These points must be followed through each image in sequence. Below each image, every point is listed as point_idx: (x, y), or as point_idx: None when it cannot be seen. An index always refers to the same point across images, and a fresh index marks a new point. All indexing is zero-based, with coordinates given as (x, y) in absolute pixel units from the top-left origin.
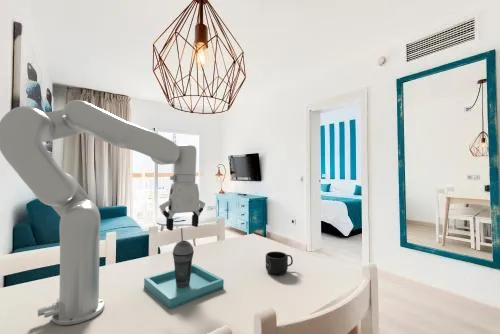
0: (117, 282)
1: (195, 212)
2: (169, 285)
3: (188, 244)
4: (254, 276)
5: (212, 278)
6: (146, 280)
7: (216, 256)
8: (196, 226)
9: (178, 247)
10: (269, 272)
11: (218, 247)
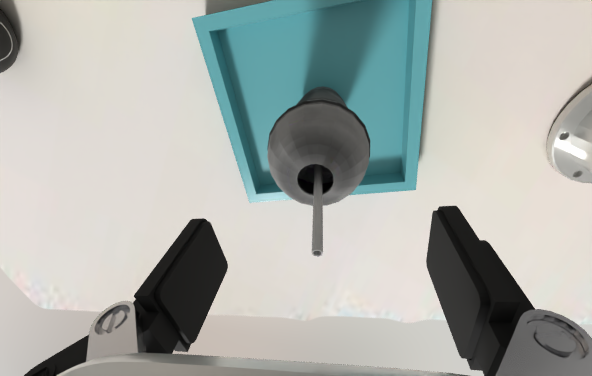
0: None
1: (138, 348)
2: None
3: (297, 143)
4: (76, 43)
5: (224, 75)
6: (416, 173)
7: (167, 240)
8: (202, 220)
9: (356, 148)
10: (7, 21)
11: None
